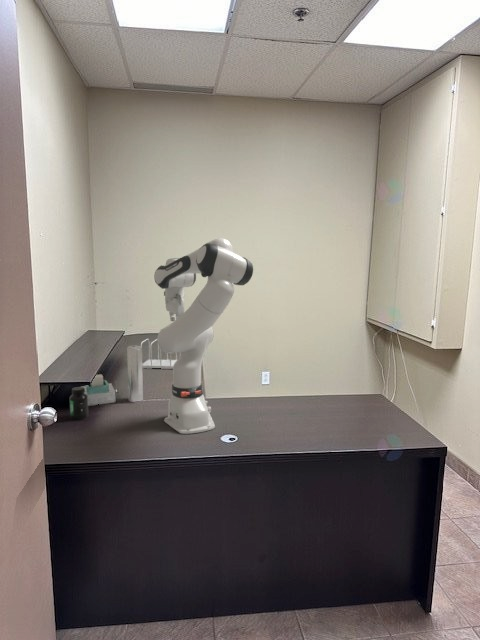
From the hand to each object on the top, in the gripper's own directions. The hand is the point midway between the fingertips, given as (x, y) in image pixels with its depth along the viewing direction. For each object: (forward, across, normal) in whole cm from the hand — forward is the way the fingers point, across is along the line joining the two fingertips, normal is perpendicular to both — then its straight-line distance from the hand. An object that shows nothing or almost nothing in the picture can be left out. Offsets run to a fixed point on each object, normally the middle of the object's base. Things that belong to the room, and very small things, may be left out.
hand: (175, 322), depth 196 cm
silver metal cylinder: (+34, -4, +20) cm, 40 cm away
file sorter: (+34, +53, -7) cm, 64 cm away
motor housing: (+34, +3, +36) cm, 50 cm away
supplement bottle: (+34, -16, +45) cm, 59 cm away
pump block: (+29, +3, +36) cm, 46 cm away
